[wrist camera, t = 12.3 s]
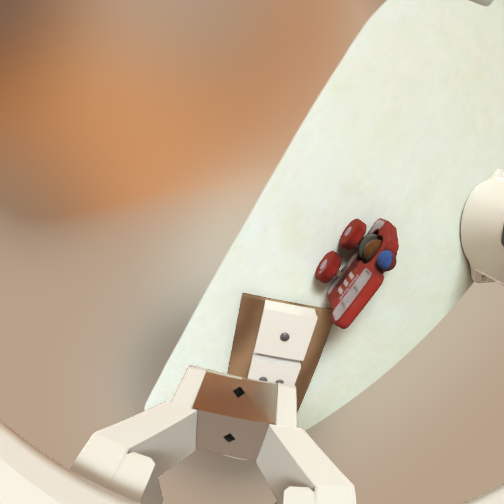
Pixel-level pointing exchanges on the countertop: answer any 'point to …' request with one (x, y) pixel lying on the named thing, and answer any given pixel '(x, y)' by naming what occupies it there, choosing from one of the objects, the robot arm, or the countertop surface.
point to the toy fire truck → (358, 268)
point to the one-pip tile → (285, 330)
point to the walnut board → (249, 330)
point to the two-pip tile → (274, 369)
